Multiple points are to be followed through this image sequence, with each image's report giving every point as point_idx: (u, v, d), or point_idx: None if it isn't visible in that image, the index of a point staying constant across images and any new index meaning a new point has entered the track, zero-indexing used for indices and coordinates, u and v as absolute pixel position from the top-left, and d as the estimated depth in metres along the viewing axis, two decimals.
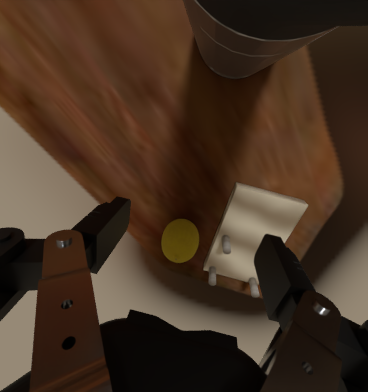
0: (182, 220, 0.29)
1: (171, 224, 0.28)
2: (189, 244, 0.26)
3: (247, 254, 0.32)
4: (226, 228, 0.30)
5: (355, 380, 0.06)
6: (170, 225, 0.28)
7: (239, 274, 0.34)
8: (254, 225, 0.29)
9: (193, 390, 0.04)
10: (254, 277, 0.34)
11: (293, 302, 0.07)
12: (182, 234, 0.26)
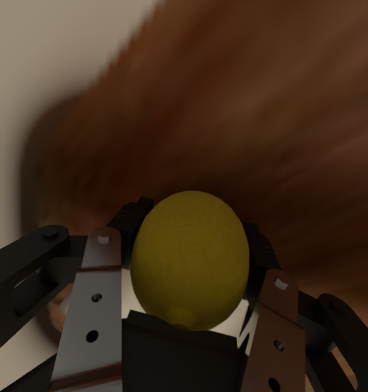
0: None
1: (241, 226, 0.09)
2: None
3: None
4: None
5: (310, 348, 0.07)
6: (241, 225, 0.09)
7: None
8: None
9: (193, 390, 0.04)
10: None
11: (258, 279, 0.08)
12: None
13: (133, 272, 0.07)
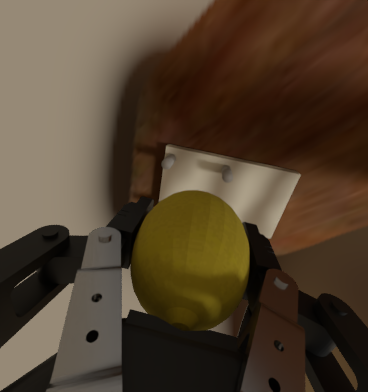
0: None
1: (242, 225, 0.09)
2: None
3: None
4: (241, 169, 0.24)
5: (310, 348, 0.07)
6: (241, 225, 0.09)
7: (168, 191, 0.27)
8: (246, 198, 0.26)
9: (193, 390, 0.04)
10: None
11: (258, 280, 0.08)
12: None
13: (133, 271, 0.07)
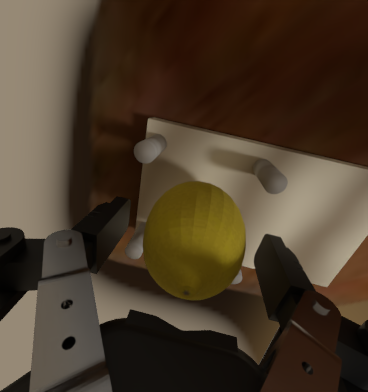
0: None
1: (239, 210, 0.10)
2: None
3: None
4: (291, 167, 0.13)
5: (355, 380, 0.06)
6: (238, 210, 0.10)
7: (153, 204, 0.15)
8: (293, 220, 0.14)
9: (193, 390, 0.04)
10: None
11: (293, 302, 0.07)
12: (240, 265, 0.09)
13: (146, 248, 0.09)
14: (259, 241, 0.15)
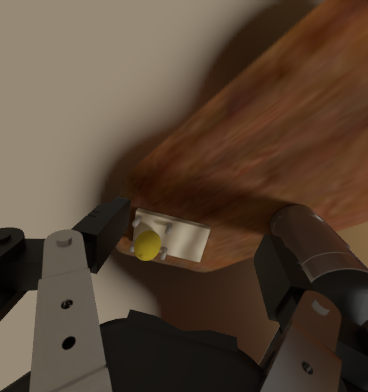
0: None
1: (158, 239, 0.41)
2: None
3: None
4: (178, 225, 0.43)
5: (355, 380, 0.06)
6: (157, 239, 0.41)
7: (138, 234, 0.46)
8: (182, 239, 0.45)
9: (194, 390, 0.04)
10: None
11: (293, 302, 0.07)
12: (156, 253, 0.40)
13: (134, 249, 0.39)
14: (174, 246, 0.46)
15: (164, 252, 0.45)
